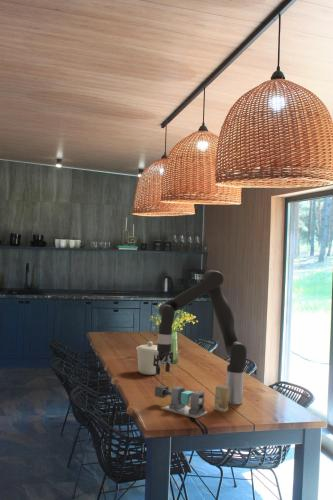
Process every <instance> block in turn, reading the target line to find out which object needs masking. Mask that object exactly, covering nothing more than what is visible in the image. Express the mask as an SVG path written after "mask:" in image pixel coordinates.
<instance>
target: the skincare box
mask: <svg viewBox="0 0 333 500" xmlns="http://www.w3.org/2000/svg"><path fill="white" fill-rule="evenodd" d="M229 390H230V387H226V385H222V384H219V385H216V386H215V395H214V408H213V409H214V410H216V411H219V412H224V413H225V412H227V411H228V410H229V403H228V402H229Z"/></svg>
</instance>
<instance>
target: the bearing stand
mask: <svg viewBox="0 0 333 500" xmlns="http://www.w3.org/2000/svg"><path fill="white" fill-rule="evenodd" d="M171 391H172V393H171V396H170V403H169V404H168V405H166V406H163V408H162V409H163V410H165V411H168V412H172V413H175V414H179V415H182V416H186V417H190V418H193V419H197V418H200V417H202V416H205V415H206V414H207V415H208V411H206V407H205V392H204V391H203V390H202V391H201V390H196V391H192V393H191V403H190V406H188V405H185V404H181V399H179V393H182V392H185V391H186V387H185V386H180V385H177V386H175V387H171ZM199 398H201V399H203V403H202V404H199Z"/></svg>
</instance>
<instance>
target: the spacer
mask: <svg viewBox="0 0 333 500" xmlns="http://www.w3.org/2000/svg"><path fill="white" fill-rule="evenodd" d="M192 392H193V390H185V392H182V393H181V404H185V406H188V405H189V403H190V404H191V402H190V401H189V397H190V396H191V393H192Z"/></svg>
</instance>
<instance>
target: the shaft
mask: <svg viewBox="0 0 333 500" xmlns="http://www.w3.org/2000/svg"><path fill="white" fill-rule="evenodd" d="M154 387H155V388H154V396H155V397H157V398H160V399H164V398H166V397H167V398H168V397H171V393H172V390H169V386H167V385H162V384H159V385H155V386H154ZM179 399H181V393H179ZM189 401H190V402H191V396H190V397H189ZM190 402H189V403H190ZM202 403H203V399H201V398H199V404H202Z"/></svg>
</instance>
